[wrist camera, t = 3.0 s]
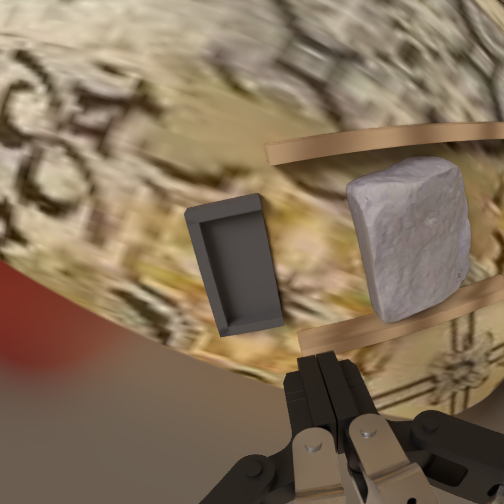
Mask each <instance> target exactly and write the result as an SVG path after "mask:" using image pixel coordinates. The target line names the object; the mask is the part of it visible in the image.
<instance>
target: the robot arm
mask: <svg viewBox="0 0 504 504" xmlns="http://www.w3.org/2000/svg"><path fill="white" fill-rule="evenodd" d="M500 1H502V2H503V3H504V0H500ZM297 363H298V370H299V371H295V372H290V373H287V374H286V377H285V379H284V382H283V385H284V390H285V396H286V401H287V407H288V412H289V418H290V424H291V429H292V438H291V441H290V443H289V444H288V445H287V446H286V448H284V449H283V450H282V451H280V452H278V453H276V454H274V455H272V456H269V457H266V456H263V455H258V454H257V455H256V454H254V455H248V456H245V457H243V458H242V459H240V460H239V461H238V462H237V463H236V464H235V465H234V466H233V467H232V468H231V470H230V471H229V472H228V473H227V474H226V475H225V476H224V477H223V479H222V480H221V481H220V482H219V483H218V484H217V485H216V486H215V487H214V488H213V489H212V490H211V492H210V493H209V494H208V495H207V496H206V497H205V498H204V499H203V500H202V501H201V502H200V503H199V504H286V503H288V502H290V501H292V500H294V499H295V504H346V499H345V494H344V489H343V488H342V485H341V479H340V473H339V467H338V462H337V456H336V453H337V452H338V454H341V453H345V455H346V458H347V469H348V472H349V475H350V477H351V479H352V482H353V485H354V487H355V489H356V492H357V495H358V497H359V500H360V502H361V504H440V502H439V500H438V498H437V496H436V494H435V493H434V491H433V489H432V487H431V485H432V486H434V487H437V488H439V489H442V490H444V491H446V492H449V493H451V494H454V495H456V496H459V497H462V498H464V499H467V500H470V501H472V502H475V503H478V504H504V434H502V433H498V432H495V431H492V430H489V429H486V428H483V427H481V426H478V425H475V424H472V423H469V422H466V421H464V420H461V419H458V418H455V417H453V416H450V415H447V414H445V413H442V412H439V411H436V410H427V411H424V412H421V413H420V414H418V415H417V416H416V417H415V418H414V420H413V421H390V420H387V419H385V418H383V417H382V416H381V415H380V414H379V413H378V412H377V410H376V408H375V405H374V403H373V401H372V399H371V396H370V394H369V392H368V390H367V387H366V385H365V384H364V381H363V379H362V377H361V374H360V372H359V370H358V368H357V366H356V365H355V364H354V363H352V362H351V361H350V360H349V359H346V360H342V361H338V360H337V358H336V355H335V353H334V351H333V350H331V351H327V352H323V353H318V354H316V355H310V356H305V357H301V358H297Z"/></svg>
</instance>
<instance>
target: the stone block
mask: <svg viewBox="0 0 504 504" xmlns="http://www.w3.org/2000/svg"><path fill="white" fill-rule="evenodd" d="M464 189H465V187H464V183H463V178H462V174H461V170H460V168H459V167H457V166H456V165H455V164H453V163H451V162H450V161H448V160H446V159H443V158H441V157H436V156H422V157H417V156H413V157H407V158H405V159H404V160H402V161H400V162H398V163H396V164H393V165H392V166H390V167H389V168H388V169H386V170H382V171H380V172H375V173H370V174H368V175H365V176H362V177H360V178H358V179H356V180H353V181H352V182H351V183H349V184H348V185H347V187H346V195H347V199H348V204H349V207H350V211H351V214H352V218H353V222H354V226H355V230H356V234H357V238H358V243H359V248H360V251H361V256H362V261H363V265H364V269H365V274H366V277H367V283H368V289H369V295H370V299H371V303H372V306H373V309H374V311H375V313H376V314H377V315H378V316H379V317H380V319H381V320H382V321H383V322H384V323H389V322H396V321H399V320H401V319H403V318H406V317H409V316H411V315H413V314H415V313H418V312H420V311H423V310H425V309H427V308H429V307H432V306H434V305H436V304H438V303H440V302H442V301H444V300H445V299H446V298H448V297H449V296H450V295H452V294H453V293H454V292H455V291H457V290H458V289H459V288H460V285H461V282H462V281H463V280H464V279H465V278H466V275H467V273H468V270H469V268H470V259H469V250H470V246H471V232H470V224H469V219H468V205H467V199H466V196H465V193H464Z"/></svg>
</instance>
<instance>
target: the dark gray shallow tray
mask: <svg viewBox="0 0 504 504" xmlns="http://www.w3.org/2000/svg"><path fill="white" fill-rule="evenodd" d="M184 216H185V219H186V223H187V227H188V230H189V234H190V238H191V241H192V245H193V248H194V252H195V255H196V259H197V262H198V266H199V269H200V272H201V276H202V279H203V283H204V286H205V289H206V292H207V296H208V299H209V302H210V306H211V309H212V312H213V315H214V318H215V322H216V325H217V328H218V331H219V334H220V337H225V336H231V335H237V334H242V333H248V332H253V331H259V330H264V329H269V328H274V327H279V326H284V321H283V316H282V311H281V306H280V301H279V296H278V290H277V285H276V280H275V275H274V270H273V264H272V259H271V254H270V249H269V244H268V239H267V234H266V229H265V224H264V219H263V214H262V207H261V202H260V197H259V194H258V193H255V194H250V195H245V196H240V197H236V198H231V199H226V200H222V201H217V202H213V203H208V204H204V205H199V206H195V207H191V208H187V210H186V211H185V213H184Z"/></svg>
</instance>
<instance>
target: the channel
mask: <svg viewBox="0 0 504 504" xmlns="http://www.w3.org/2000/svg"><path fill="white" fill-rule="evenodd" d="M483 139H504V122H451V123H430V124H414V125H401V126H390V127H379V128H370V129H361V130H352V131H344V132H337V133H329V134H322V135H316V136H309V137H303V138H297V139H291V140H285V141H279V142H274V143H268V144H264V149H265V154H266V159H267V162H268V163H269V165H270V166H273V165H278V164H284V163H289V162H295V161H300V160H306V159H312V158H318V157H324V156H331V155H337V154H344V153H351V152H358V151H365V150H373V149H381V148H389V147H398V146H407V145H417V144H427V143H438V142H451V141H465V140H483ZM503 299H504V277H503V276H501V275H500V274H499V275H496V276H493V277H491V278H488V279H485V280H482V281H479V282H477V283H474V284H471V285H468V286H465V287H462V288H459V289H458V290H457V291H455V292H454V293H453V294H452V295H450V296H449V297H448V298H446V299H445V300H444V301H442V302H440V303H438V304H436V305H434V306H432V307H429V308H427V309H425V310H423V311H420V312H418V313H415V314H413V315H411V316H409V317H406V318H403V319H401V320H399V321H396V322H389V323H384V322H383V321H382V320H381V319H380V317H379V316H378V315H377V314H376V313H374V314H371V315H367V316H363V317H359V318H355V319H351V320H347V321H343V322H339V323H334V324H330V325H326V326H321V327H317V328H312V329H308V330H303V331H299V332H297V333H298V339H299V344H300V348H301V352H302V356H303V357H305V356H310V355H316V354H318V353H323V352H327V351H331V350H333V351H334V353H335V354H338V353H342V352H346V351H350V350H354V349H358V348H361V347H365V346H369V345H373V344H376V343H380V342H383V341H387V340H390V339H393V338H397V337H400V336H403V335H407V334H410V333H413V332H416V331H419V330H422V329H425V328H428V327H431V326H434V325H437V324H440V323H443V322H446V321H449V320H451V319H454V318H457V317H460V316H462V315H465V314H468V313H470V312H473V311H475V310H478V309H481V308H483V307H486V306H488V305H491V304H493V303H495V302H498V301H500V300H503Z"/></svg>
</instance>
